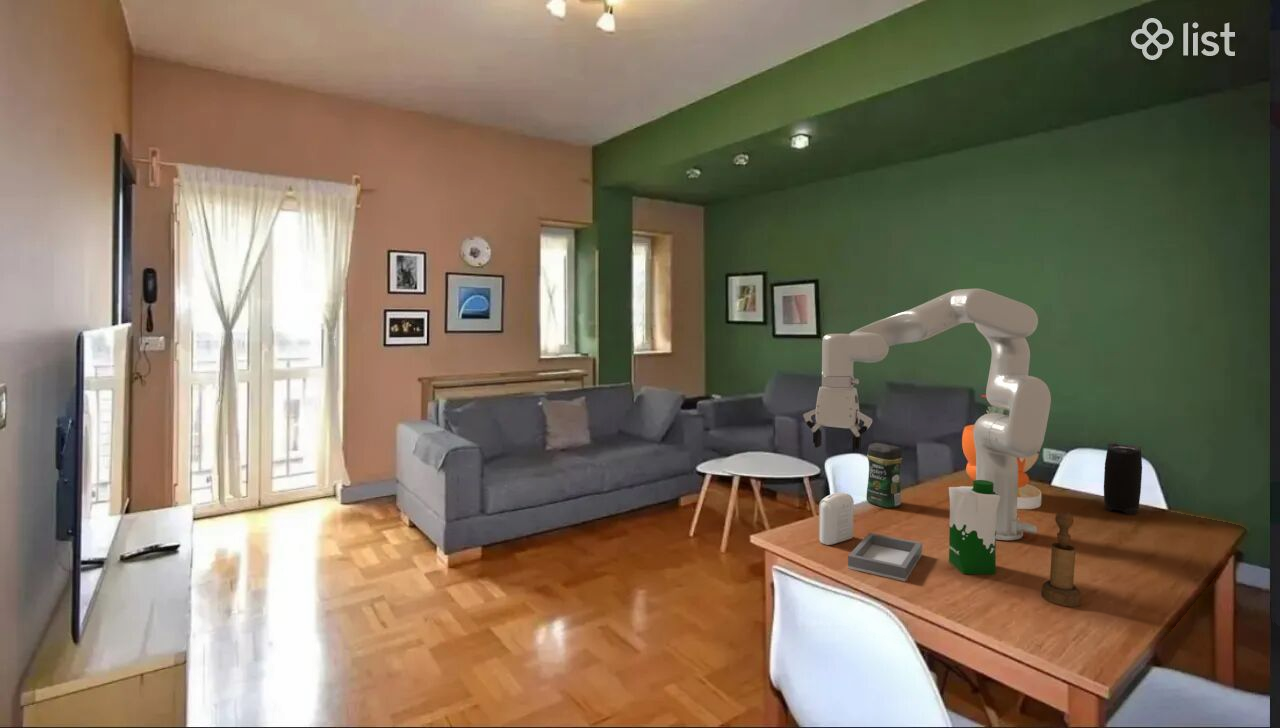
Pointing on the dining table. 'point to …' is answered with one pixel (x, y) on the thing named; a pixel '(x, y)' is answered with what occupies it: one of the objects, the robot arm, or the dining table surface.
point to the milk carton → (973, 528)
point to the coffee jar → (884, 475)
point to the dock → (885, 556)
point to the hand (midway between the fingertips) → (836, 448)
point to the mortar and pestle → (1062, 567)
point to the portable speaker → (1122, 478)
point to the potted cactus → (1026, 493)
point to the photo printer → (836, 518)
